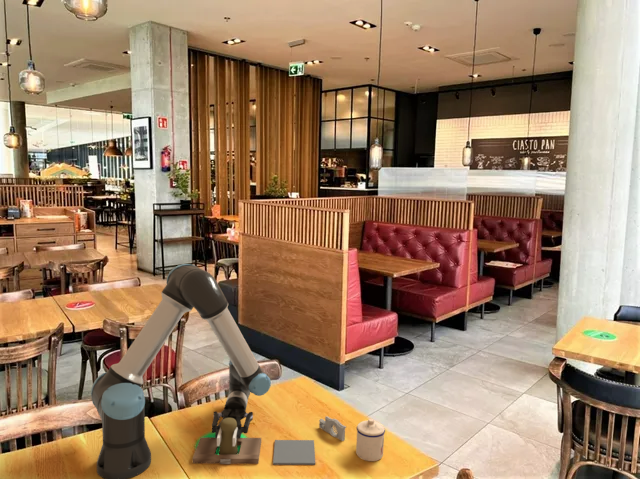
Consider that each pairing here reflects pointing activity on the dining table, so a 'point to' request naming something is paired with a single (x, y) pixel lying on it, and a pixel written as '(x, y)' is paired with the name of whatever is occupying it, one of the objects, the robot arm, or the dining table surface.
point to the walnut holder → (208, 455)
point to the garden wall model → (328, 427)
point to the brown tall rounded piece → (228, 437)
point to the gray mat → (294, 452)
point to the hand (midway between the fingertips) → (226, 442)
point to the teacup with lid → (370, 440)
